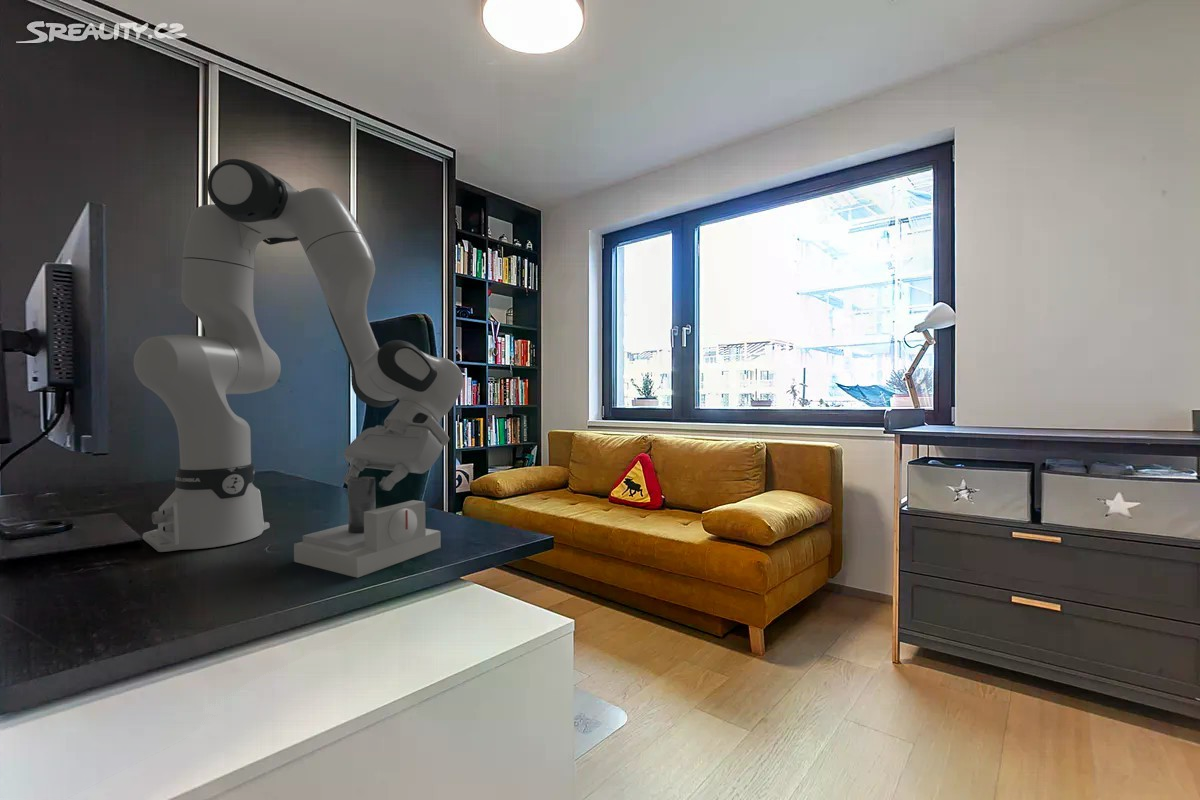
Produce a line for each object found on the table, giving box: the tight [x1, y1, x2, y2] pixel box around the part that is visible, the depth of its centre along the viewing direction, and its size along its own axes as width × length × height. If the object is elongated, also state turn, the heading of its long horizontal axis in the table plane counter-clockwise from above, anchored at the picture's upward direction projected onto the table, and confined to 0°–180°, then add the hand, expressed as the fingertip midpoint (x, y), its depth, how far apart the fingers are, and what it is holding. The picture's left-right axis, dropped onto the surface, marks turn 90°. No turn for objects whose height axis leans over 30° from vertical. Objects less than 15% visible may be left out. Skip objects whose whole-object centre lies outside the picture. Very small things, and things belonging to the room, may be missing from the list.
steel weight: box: [347, 476, 377, 533], centre depth 91 cm, size 4×4×9 cm
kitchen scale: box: [293, 499, 442, 578], centre depth 90 cm, size 16×17×9 cm
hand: (365, 485), depth 91 cm, fingers open, 8 cm apart
